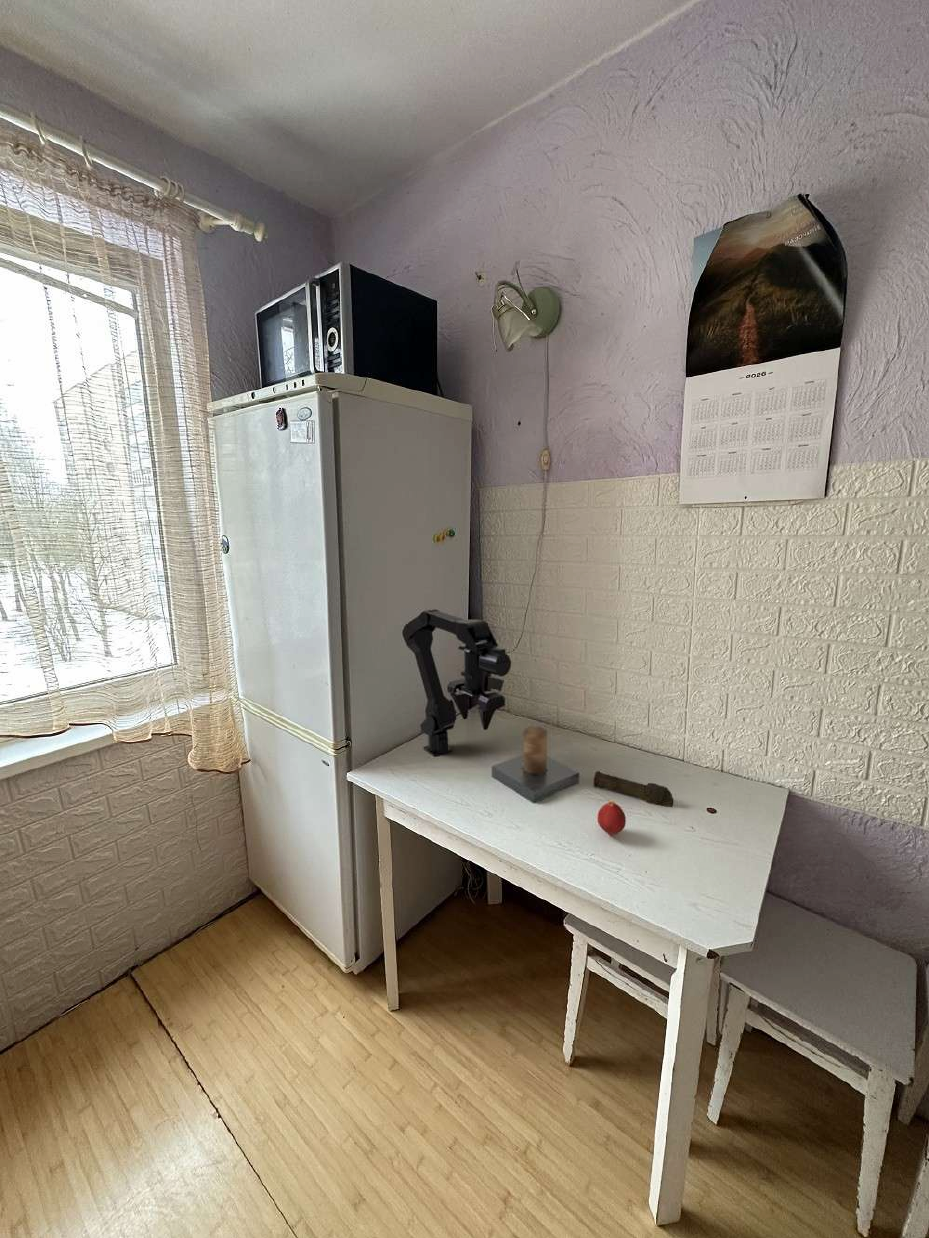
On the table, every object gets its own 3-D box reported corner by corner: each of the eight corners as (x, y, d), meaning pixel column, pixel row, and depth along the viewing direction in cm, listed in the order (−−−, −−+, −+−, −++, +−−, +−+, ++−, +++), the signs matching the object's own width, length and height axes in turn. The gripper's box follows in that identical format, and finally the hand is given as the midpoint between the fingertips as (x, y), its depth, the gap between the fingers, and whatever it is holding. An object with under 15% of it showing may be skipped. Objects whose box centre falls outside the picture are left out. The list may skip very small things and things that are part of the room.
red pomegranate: (603, 823, 112) (605, 790, 111) (629, 833, 109) (631, 799, 107) (592, 835, 108) (593, 801, 107) (618, 846, 104) (620, 811, 103)
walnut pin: (520, 781, 130) (521, 734, 127) (525, 771, 135) (526, 725, 133) (544, 785, 128) (545, 737, 126) (547, 774, 134) (549, 728, 131)
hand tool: (591, 788, 128) (592, 772, 127) (597, 782, 131) (598, 765, 130) (669, 813, 117) (670, 795, 116) (673, 806, 120) (675, 788, 119)
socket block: (491, 776, 134) (491, 766, 133) (535, 760, 143) (536, 750, 142) (533, 803, 121) (533, 791, 120) (578, 783, 130) (579, 772, 129)
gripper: (521, 671, 130) (520, 728, 133) (478, 656, 145) (478, 707, 148) (487, 678, 123) (487, 738, 126) (445, 662, 138) (446, 716, 141)
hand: (475, 724), depth 135 cm, fingers open, 9 cm apart
